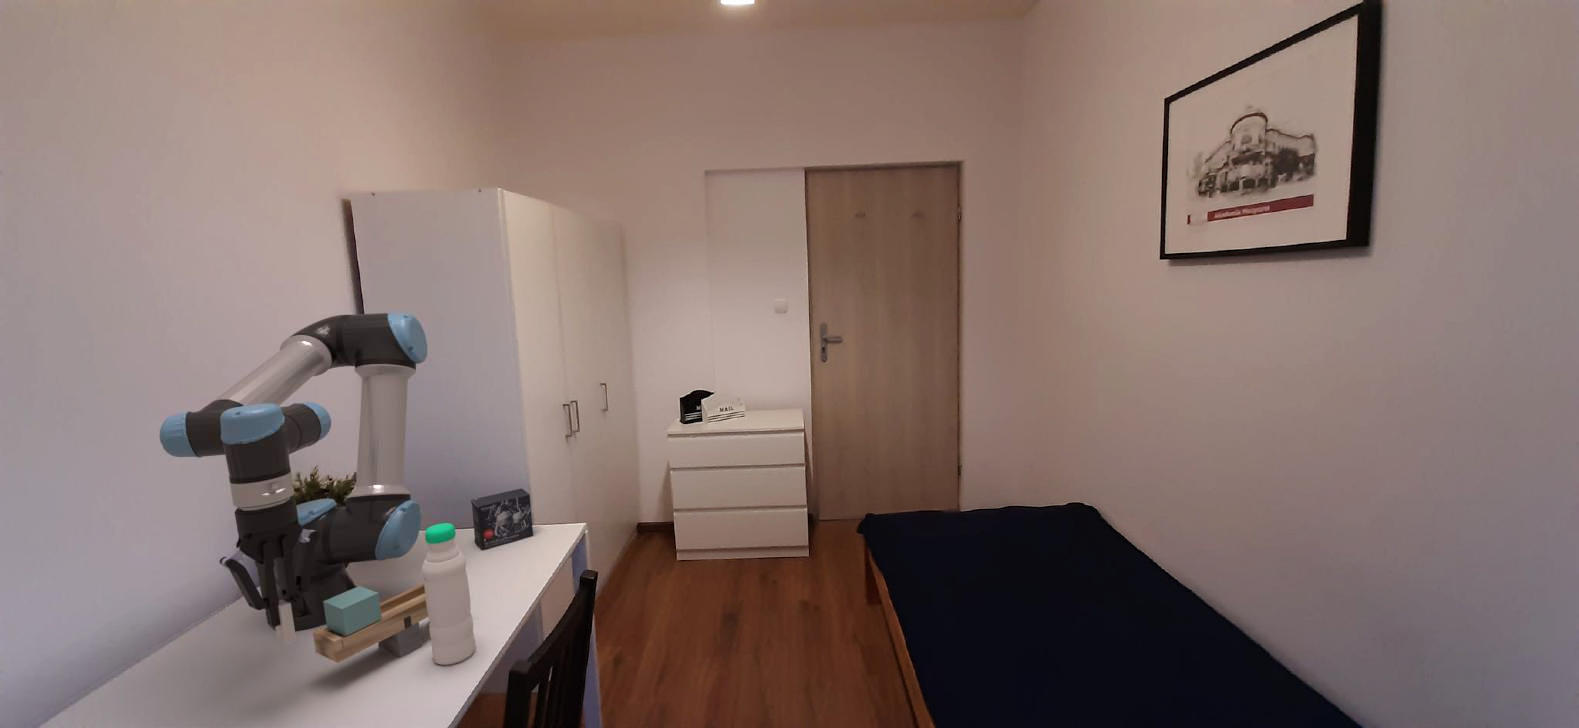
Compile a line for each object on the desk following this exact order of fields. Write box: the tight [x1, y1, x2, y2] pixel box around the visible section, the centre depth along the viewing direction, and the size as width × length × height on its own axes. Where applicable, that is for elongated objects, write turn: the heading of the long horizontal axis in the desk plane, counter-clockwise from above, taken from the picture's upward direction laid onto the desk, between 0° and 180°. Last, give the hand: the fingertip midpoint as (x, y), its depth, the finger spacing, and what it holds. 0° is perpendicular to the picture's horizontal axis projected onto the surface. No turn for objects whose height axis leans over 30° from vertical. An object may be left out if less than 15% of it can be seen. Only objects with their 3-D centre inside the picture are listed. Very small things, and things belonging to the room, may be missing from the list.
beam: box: [312, 582, 429, 664], centre depth 119 cm, size 7×24×12 cm, turn 152°
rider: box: [323, 585, 382, 637], centre depth 113 cm, size 6×6×6 cm
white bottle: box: [421, 522, 476, 666], centre depth 115 cm, size 7×7×25 cm
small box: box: [471, 488, 534, 551], centre depth 167 cm, size 13×7×12 cm, turn 130°
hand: (286, 640), depth 104 cm, fingers closed
